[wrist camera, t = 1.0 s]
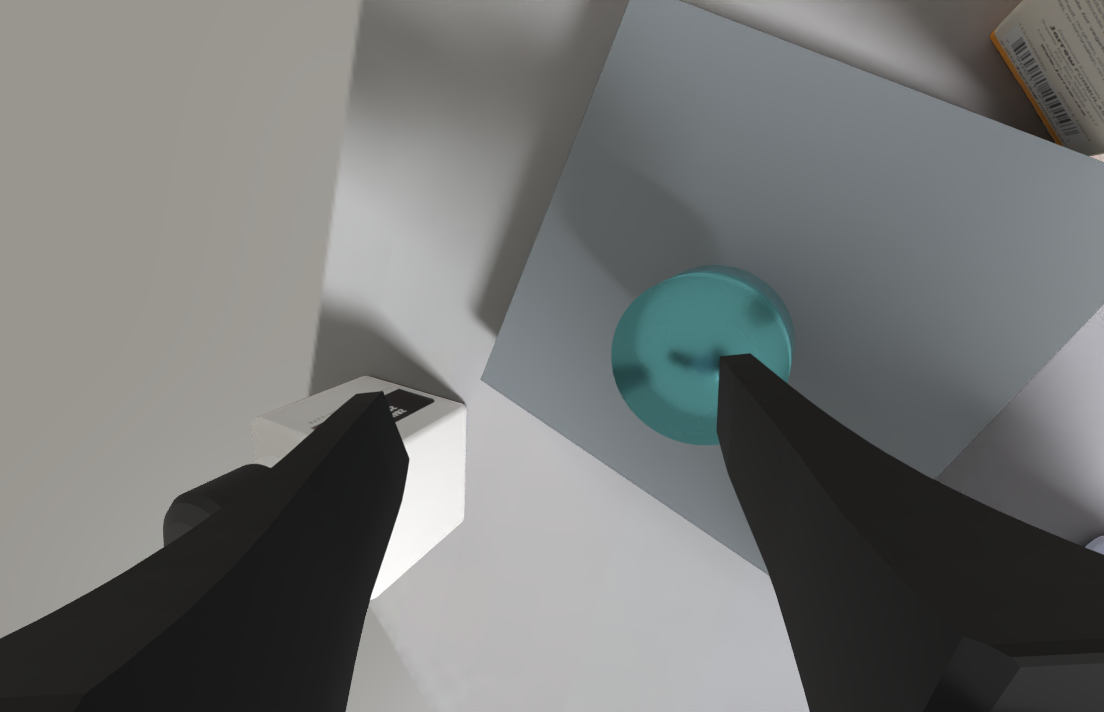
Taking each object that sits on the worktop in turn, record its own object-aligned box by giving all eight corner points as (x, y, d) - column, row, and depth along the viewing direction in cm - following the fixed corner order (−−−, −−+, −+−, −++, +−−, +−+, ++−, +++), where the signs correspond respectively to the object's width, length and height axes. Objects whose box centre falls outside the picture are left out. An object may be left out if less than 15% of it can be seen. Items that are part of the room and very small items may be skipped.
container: (365, 372, 33) (123, 464, 21) (469, 403, 29) (250, 528, 18) (369, 482, 35) (155, 615, 24) (466, 520, 32) (272, 694, 21)
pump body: (1132, 199, 16) (1203, 200, 13) (815, 551, 23) (813, 605, 20) (664, 15, 20) (636, -17, 17) (519, 359, 27) (480, 379, 24)
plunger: (829, 291, 17) (830, 335, 12) (755, 398, 19) (727, 477, 14) (708, 230, 18) (658, 244, 13) (650, 336, 20) (585, 387, 15)
